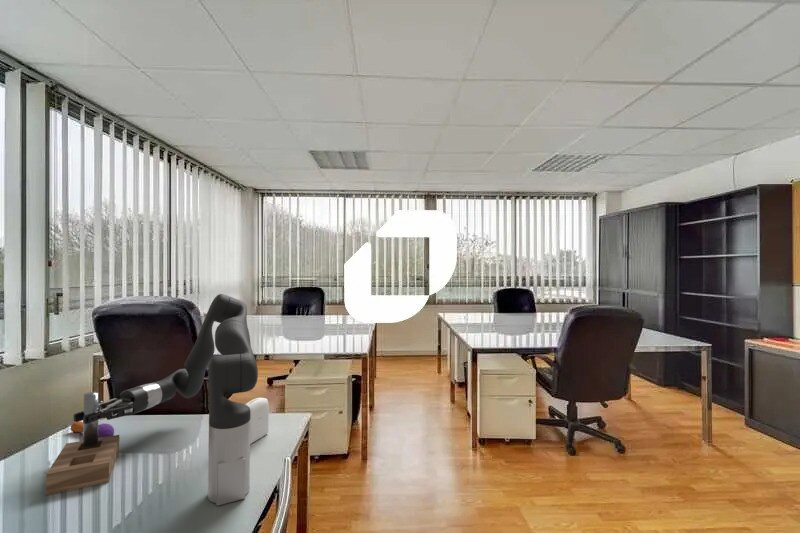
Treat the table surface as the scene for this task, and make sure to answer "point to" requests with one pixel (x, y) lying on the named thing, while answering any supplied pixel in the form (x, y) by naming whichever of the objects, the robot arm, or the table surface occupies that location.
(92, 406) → the pin
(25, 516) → the table surface
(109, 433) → the maraca
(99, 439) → the block
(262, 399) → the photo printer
